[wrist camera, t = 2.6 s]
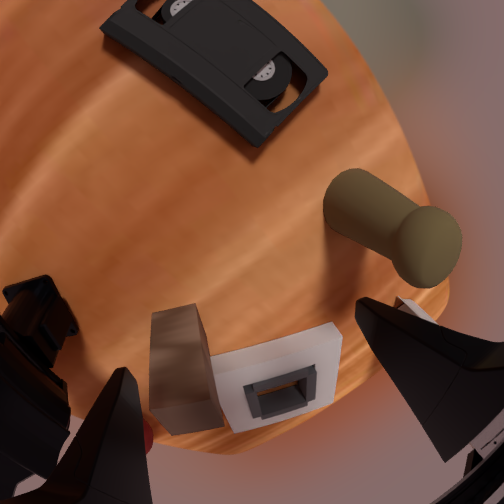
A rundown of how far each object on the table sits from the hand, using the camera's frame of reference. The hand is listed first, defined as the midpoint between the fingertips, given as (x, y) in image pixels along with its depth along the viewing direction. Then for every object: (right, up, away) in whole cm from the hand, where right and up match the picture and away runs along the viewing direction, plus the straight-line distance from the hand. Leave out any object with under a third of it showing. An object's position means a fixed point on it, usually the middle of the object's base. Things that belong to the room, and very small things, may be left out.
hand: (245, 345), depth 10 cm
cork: (+9, +8, +14) cm, 18 cm away
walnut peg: (-6, -3, +15) cm, 16 cm away
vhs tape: (-2, +18, +6) cm, 19 cm away
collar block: (+3, -12, +22) cm, 25 cm away
